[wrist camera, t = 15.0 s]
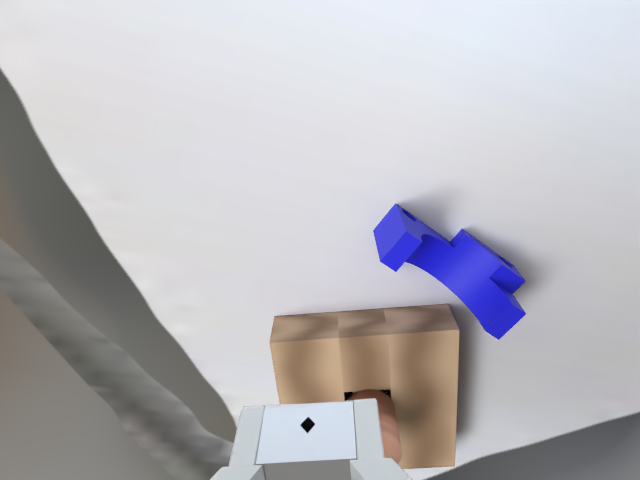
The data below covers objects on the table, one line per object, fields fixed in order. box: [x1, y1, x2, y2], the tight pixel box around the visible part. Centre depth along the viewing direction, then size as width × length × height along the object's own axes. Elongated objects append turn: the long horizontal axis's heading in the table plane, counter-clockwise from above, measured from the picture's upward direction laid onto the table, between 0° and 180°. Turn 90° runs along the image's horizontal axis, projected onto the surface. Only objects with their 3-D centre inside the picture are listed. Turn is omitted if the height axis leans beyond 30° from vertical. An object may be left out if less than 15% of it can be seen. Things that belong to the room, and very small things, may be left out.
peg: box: [346, 389, 402, 464], centre depth 43 cm, size 5×5×8 cm
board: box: [270, 304, 459, 469], centre depth 45 cm, size 16×16×4 cm
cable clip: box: [373, 204, 526, 340], centre depth 38 cm, size 12×4×6 cm, turn 55°
